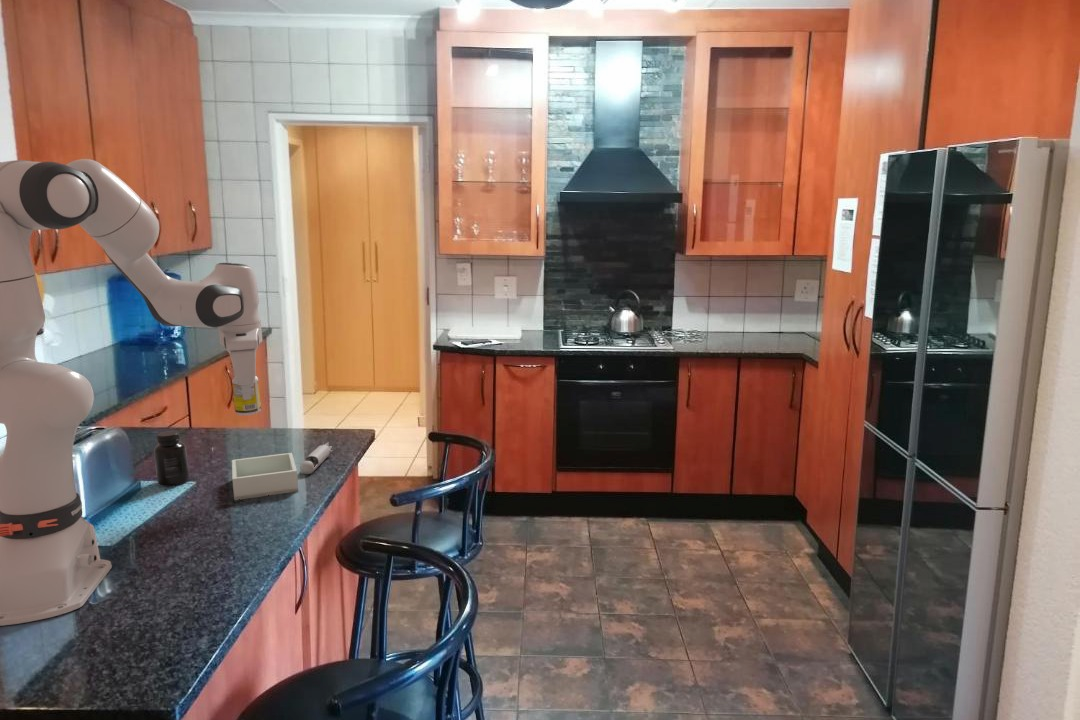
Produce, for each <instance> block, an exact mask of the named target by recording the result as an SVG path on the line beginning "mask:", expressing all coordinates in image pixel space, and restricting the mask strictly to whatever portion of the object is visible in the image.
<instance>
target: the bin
mask: <svg viewBox="0 0 1080 720" xmlns="http://www.w3.org/2000/svg"><path fill="white" fill-rule="evenodd" d="M231 467H232V468H231V472H232V473H231V475H232V476H231V477H232V478H231V480H232V490H233V491H232V492H233V500H234V501H240V500H246V499H253V498H261V497H262V498H263V497H267V496H268V495H269V496H275V495H276V496H277V495H282V494H290V493H297V492H299V482H298V481H299V480H298V471H297V467H296V462H295V459H294V455H293V452H287V453H278V454H269V455H262V456H261V455H260V456H253V457H246V458H245V457H244V458H238V459H237V458H236V459H232V460H231ZM269 496H268V497H269ZM239 499H240V500H239Z"/></svg>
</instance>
